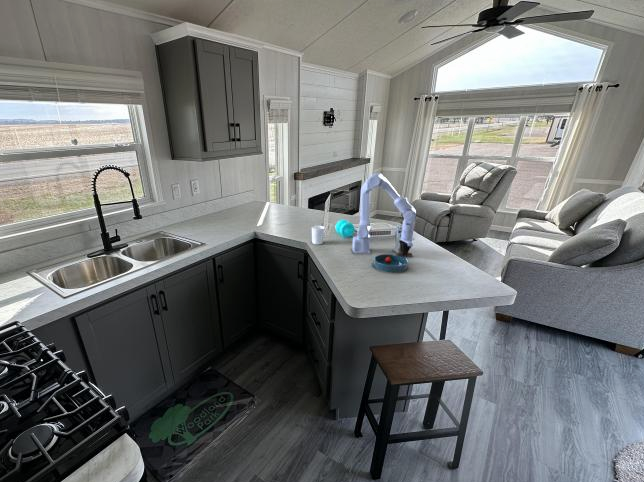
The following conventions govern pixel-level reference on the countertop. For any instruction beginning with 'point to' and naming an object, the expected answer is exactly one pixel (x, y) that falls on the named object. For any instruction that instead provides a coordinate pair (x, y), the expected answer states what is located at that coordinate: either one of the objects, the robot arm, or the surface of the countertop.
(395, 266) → the bowl
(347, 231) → the donuts
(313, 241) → the white cup
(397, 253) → the paddle
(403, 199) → the robot arm
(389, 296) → the countertop surface
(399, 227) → the beer glass
